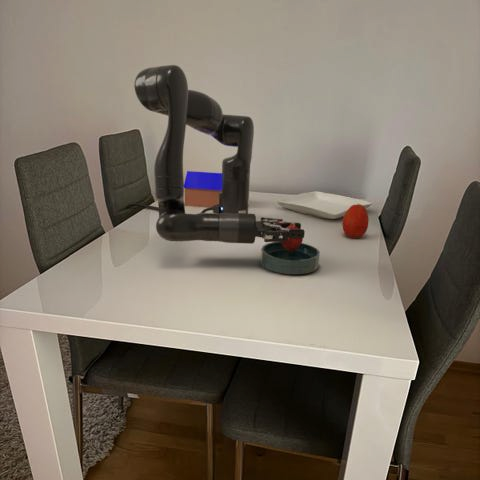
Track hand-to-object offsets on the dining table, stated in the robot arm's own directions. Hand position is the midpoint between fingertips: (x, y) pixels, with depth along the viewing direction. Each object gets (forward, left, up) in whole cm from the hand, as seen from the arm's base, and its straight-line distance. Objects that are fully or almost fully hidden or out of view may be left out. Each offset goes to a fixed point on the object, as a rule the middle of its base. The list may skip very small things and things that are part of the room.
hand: (302, 230), depth 117 cm
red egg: (+4, +35, -10) cm, 36 cm away
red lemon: (-2, -2, -6) cm, 7 cm away
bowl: (-2, -1, -10) cm, 10 cm away
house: (-55, +42, -10) cm, 70 cm away
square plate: (-16, +60, -10) cm, 63 cm away
